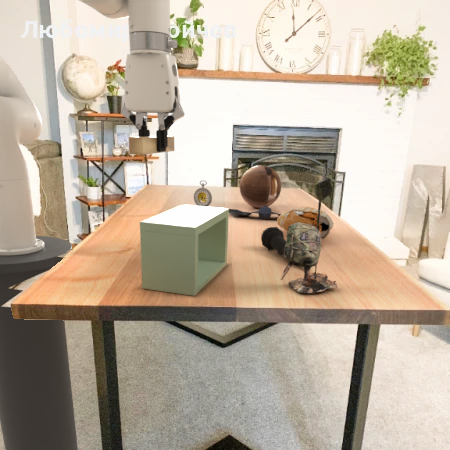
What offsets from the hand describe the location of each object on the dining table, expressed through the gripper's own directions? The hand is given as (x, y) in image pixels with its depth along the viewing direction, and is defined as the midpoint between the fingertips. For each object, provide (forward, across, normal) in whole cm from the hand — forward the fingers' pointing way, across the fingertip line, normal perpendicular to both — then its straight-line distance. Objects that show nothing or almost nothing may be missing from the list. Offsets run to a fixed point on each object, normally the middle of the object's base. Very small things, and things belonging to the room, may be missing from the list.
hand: (153, 150), depth 89 cm
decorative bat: (+23, -14, -56) cm, 62 cm away
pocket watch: (+23, +9, -58) cm, 63 cm away
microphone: (+23, -26, -12) cm, 37 cm away
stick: (0, 0, 0) cm, 0 cm away
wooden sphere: (+23, -8, -75) cm, 79 cm away
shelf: (+23, -10, +9) cm, 26 cm away
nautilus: (+23, -29, -32) cm, 49 cm away
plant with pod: (+23, -34, +8) cm, 41 cm away
